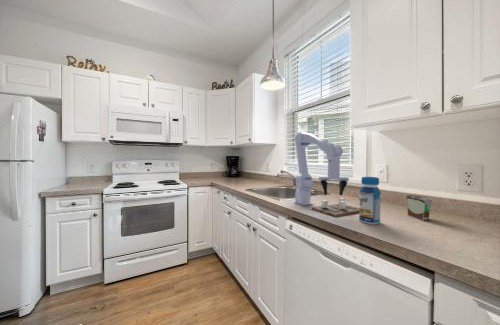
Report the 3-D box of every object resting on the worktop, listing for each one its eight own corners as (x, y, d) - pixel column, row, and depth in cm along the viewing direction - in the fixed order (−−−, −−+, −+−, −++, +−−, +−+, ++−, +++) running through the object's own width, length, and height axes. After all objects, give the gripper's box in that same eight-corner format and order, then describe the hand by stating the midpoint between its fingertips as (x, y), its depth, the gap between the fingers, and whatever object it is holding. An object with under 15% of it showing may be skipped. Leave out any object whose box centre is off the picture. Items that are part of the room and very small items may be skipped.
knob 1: (321, 206, 112) (321, 200, 112) (325, 206, 113) (325, 199, 113) (324, 207, 110) (324, 200, 110) (327, 207, 111) (327, 200, 111)
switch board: (311, 209, 114) (311, 206, 114) (339, 205, 123) (339, 203, 123) (335, 216, 99) (335, 213, 99) (364, 211, 109) (364, 209, 109)
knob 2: (338, 204, 117) (338, 198, 117) (341, 204, 118) (341, 197, 118) (341, 205, 115) (341, 198, 115) (344, 204, 117) (344, 198, 116)
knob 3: (339, 208, 109) (339, 201, 109) (342, 207, 110) (342, 200, 110) (342, 208, 107) (342, 202, 107) (345, 208, 108) (345, 201, 108)
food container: (439, 222, 92) (440, 200, 92) (425, 222, 92) (426, 199, 92) (417, 214, 104) (418, 195, 104) (405, 214, 104) (405, 194, 104)
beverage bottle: (384, 225, 87) (384, 178, 87) (362, 224, 89) (363, 178, 88) (376, 219, 95) (376, 176, 95) (356, 218, 97) (356, 176, 97)
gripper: (321, 169, 104) (320, 196, 104) (351, 169, 102) (350, 196, 103) (318, 168, 111) (317, 193, 111) (346, 168, 109) (345, 194, 110)
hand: (333, 194), depth 107 cm, fingers open, 7 cm apart
